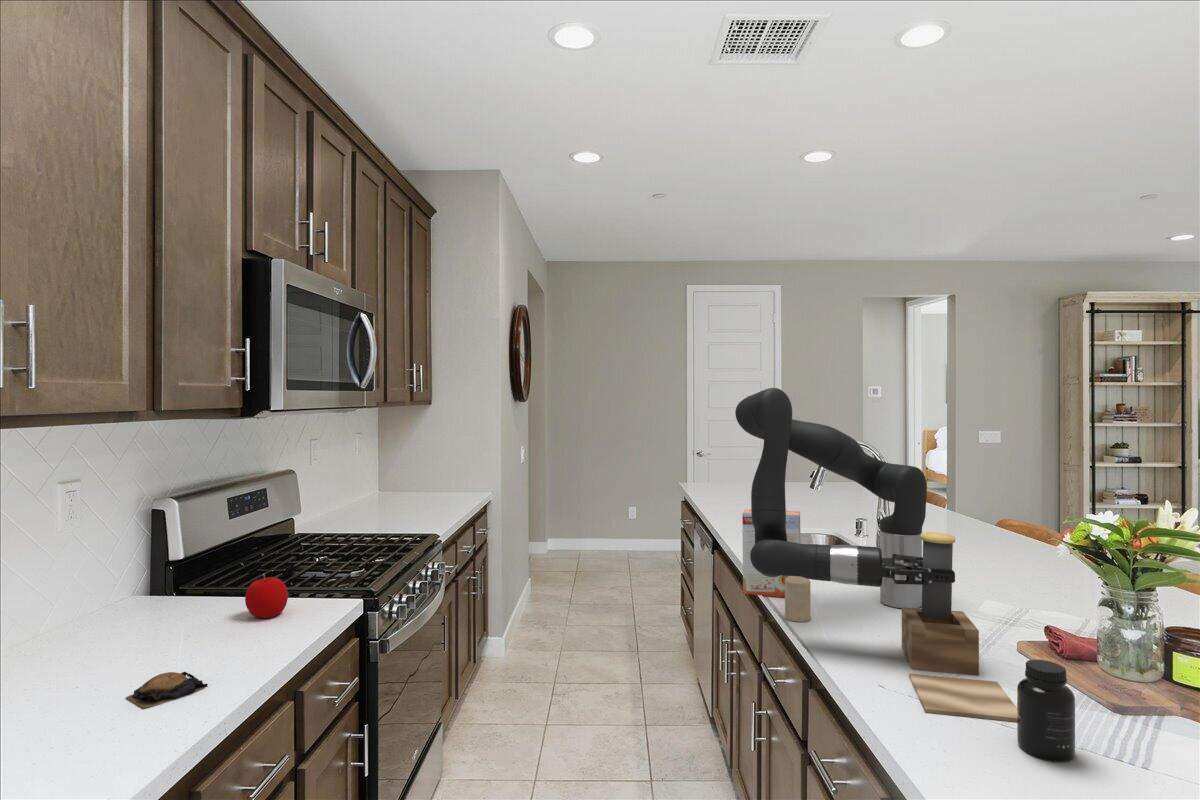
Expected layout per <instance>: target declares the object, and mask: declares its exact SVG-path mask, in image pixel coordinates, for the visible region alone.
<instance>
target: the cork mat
mask: <svg viewBox="0 0 1200 800" xmlns="http://www.w3.org/2000/svg"><path fill="white" fill-rule="evenodd" d="M908 678H909V680H910V682H911V685H912V687H913V688H914V691H915V693H916V696H917V697H918V700H919V702H920V704H921V706H922V709H923V710H924V713H926V714H927V713H928V714H938V715H947V716H957V717H965V718H974V719H975V718H977V719H986V720H995V721H1004V722H1005V721H1006V722H1014V723H1017V705H1015V703H1014V702H1013V701H1012V699H1011V698H1010V697H1009V696H1008V695H1009V694H1007V693H1006V691H1005V690H1004V689H1003V687H1002V686H1001V685H1000V683H999V682H998V681H994V680H985V679H973V678H964V677H963V678H962V677H952V676H951V677H950V676H941V675H940V676H939V675H931V674H929V675H928V674H921V673H920V674H919V673H908Z"/></svg>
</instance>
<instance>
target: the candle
mask: <svg viewBox="0 0 1200 800" xmlns="http://www.w3.org/2000/svg"><path fill="white" fill-rule="evenodd" d="M811 595H812V594H811V579H807V578H804V577H800V576H788V577H787V578H786V579H785V597H784V617H785V619H786V620H788V621H791V622H796V623H805V622H809V621H810V620H811V612H812V611H811V606H812V605H811V602H812V601H811V598H812V597H811Z"/></svg>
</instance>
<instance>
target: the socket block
mask: <svg viewBox="0 0 1200 800" xmlns="http://www.w3.org/2000/svg"><path fill="white" fill-rule="evenodd" d="M979 632H980V630H979V629H978V628H977V627H976V626H975V624H974V623H973V622H972V621H971V619H970V618H969V617H968V616H967V615H966V613H965V612H964V611H961V610H951V617H950V618H946V619H940V618H933V617H929V616H926V615H924V614H923V613H922V608H921V607H919V608H906V607H902V608H901V649H902V651H903V654H904V656H905V658H906V659H907V662H908V664H909V666H910V668H911V670H914V671H915V670H916V671H918V670H919V671H927V672H939V673H949V674H960V675H973V676H979V675H980V633H979Z"/></svg>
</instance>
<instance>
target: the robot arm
mask: <svg viewBox="0 0 1200 800" xmlns="http://www.w3.org/2000/svg"><path fill="white" fill-rule="evenodd" d="M734 413H735V419H736V422H737V424H738V425H739V426H740V428H741V429H742V430H743V431H745V432H746V433H747V434H749V435H751V436H752V437H756V438H758V439H761V440H763V446H762V451H761V456H760V459H759V461H758V466H757V467H756V471H755V473H754V476H753V480H752V484H751V491H750V493H751V495H750V496H751V497H750V499H751V500H750V501H751V502H750V506H751V507H750V508H751V512H752V513H751V514H752V523H753V526H754V529H755V545H754V546H753V548H752V550H751V553H750V559H751V563H752V565H753V566H754V568H755V569H756V570H757V571H758V572H760V573H762V574H763V575H765V576H768V577H777V576H780V575H785V576H800V577H804V578H807V579H809V580H810V581H811V580H812V581H823V582H833V583H836V584H837V583H838V584H842V585H852V586H853V585H854V586H862V587H864V586H865V587H873V588H875V587H876V588H879V593H880V594H879V599H880V600H879V601H880V602H881V604H883V605H886V606H888V607H891V608H898V609H902V607H906V608H922V585H929V583H931V582H932V581H934V582H946V583H952V584H954V583H956V573H955V571H954V570H953V569H952V570H944V569H931V568H925V567H923V540H922V539H921V533H923V526H924V523H925V521H926V514H927V513H926V511H927V509H926V508H927V495H928V493H927V492H928V490H927V489H928V486H927V479H926V475H925V474H924V472H923V471H922V469H920V468H918V467H917V466H913V465H905V464H897V463H891V462H885V461H883V460H880V459H878V458H875V457H873V456H870V454H868V453H866V451H864V450H863V447H862V446H861V445H860V444H859V443H858V441H857V440H855V439H854V438H853V437H851V436H850V435H847V434H846V433H844V432H842V431H841V430H839V429H837V428H835V427H831V426H829V425H826V424H822V423H816V422H810V421H803V420H799V419H793V407H792V402H791V400H790V398H789V396H788V394H787V393H786V392H785V391H783V390H782V389H780V388H777V387H768V388H766V389H762V390H761V391H759V392H756V393H754V394H753V393H752V394H751V395H748V396H747V397H745V398H743V399H741V401H739V402H738V404H737V405H736V407H735V412H734ZM789 451H791V452H792V453H794V454H796V455H799V456H800V457H802V458H804V459H807V460H808V461H810V462H812V463H813V464H815V465H817V466H819V467H821V468H824V469H826V470H827V471H830V473H834V474H836V475H837V476H841V477H843V478H846V479H847V480H850V481H854V482H855V483H857V484H859V485H860V486H862V487H863V488H864V489H866V490H867V491H868V492H870V493H871V494H873V495H874V496H876V497H878V499H879V498H880V499H882V500H883V501H886V502H890V503H894V505H893V506H894V507H893V513H892V514H890V515H888V516H884V517H882V518H881V519H880V521H879V546H866V545H850V544H837V545H836V544H834V545H833V544H832V545H831V544H818V543H817V544H815V543H801V544H800V543H794V542H788V541H787V534H786V511H787V505H786V503H787V502H786V472H787V462H788V456H789Z"/></svg>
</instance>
